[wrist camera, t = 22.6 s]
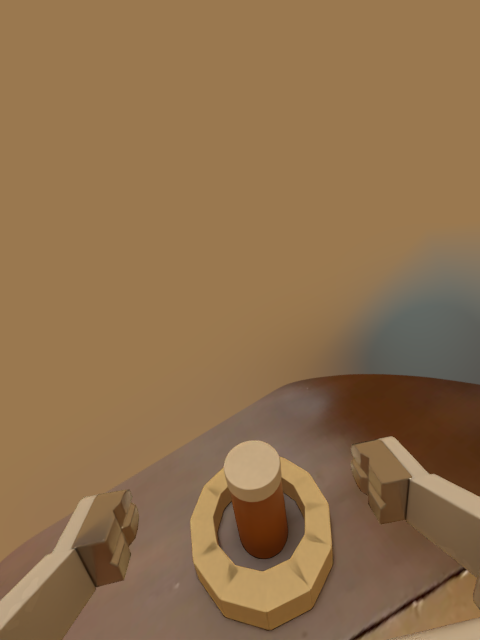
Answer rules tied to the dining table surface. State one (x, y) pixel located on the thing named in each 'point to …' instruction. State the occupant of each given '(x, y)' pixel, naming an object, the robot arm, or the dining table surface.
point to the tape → (272, 584)
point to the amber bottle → (257, 497)
